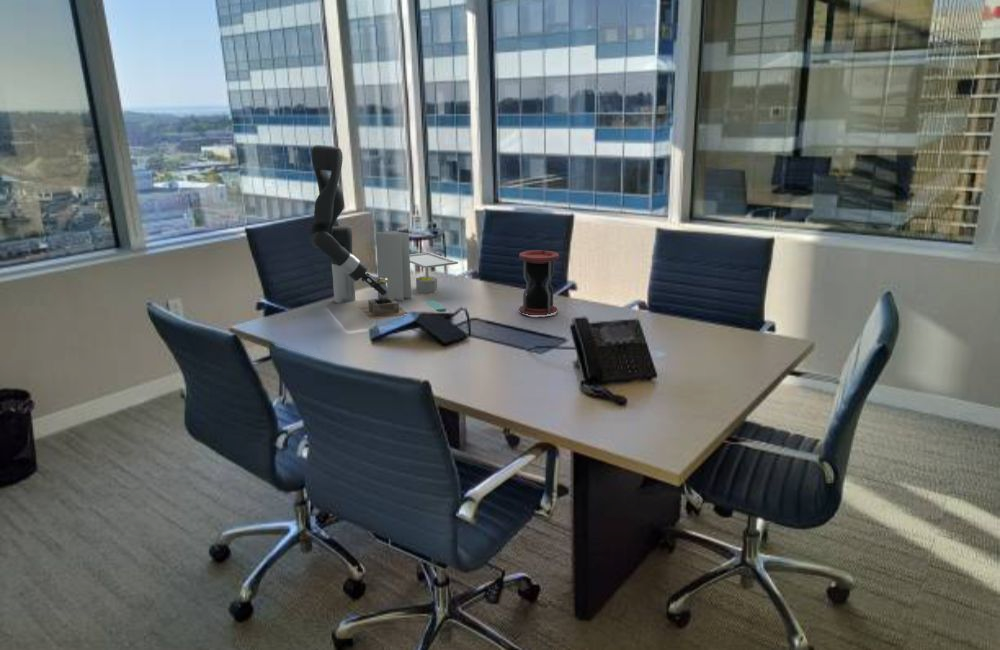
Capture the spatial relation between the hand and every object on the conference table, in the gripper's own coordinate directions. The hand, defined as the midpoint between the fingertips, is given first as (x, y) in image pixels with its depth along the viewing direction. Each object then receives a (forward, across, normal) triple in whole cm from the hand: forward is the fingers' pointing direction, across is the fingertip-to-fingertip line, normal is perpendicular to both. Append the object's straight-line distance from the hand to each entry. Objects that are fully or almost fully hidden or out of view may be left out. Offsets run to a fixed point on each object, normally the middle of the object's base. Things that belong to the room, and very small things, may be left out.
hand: (382, 291), depth 283 cm
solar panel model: (+28, +30, -15) cm, 44 cm away
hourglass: (+49, -26, -35) cm, 65 cm away
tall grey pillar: (+15, +20, -1) cm, 25 cm away
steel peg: (+6, 0, +6) cm, 8 cm away
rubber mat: (+20, 0, -7) cm, 22 cm away
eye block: (+7, 0, +7) cm, 10 cm away
